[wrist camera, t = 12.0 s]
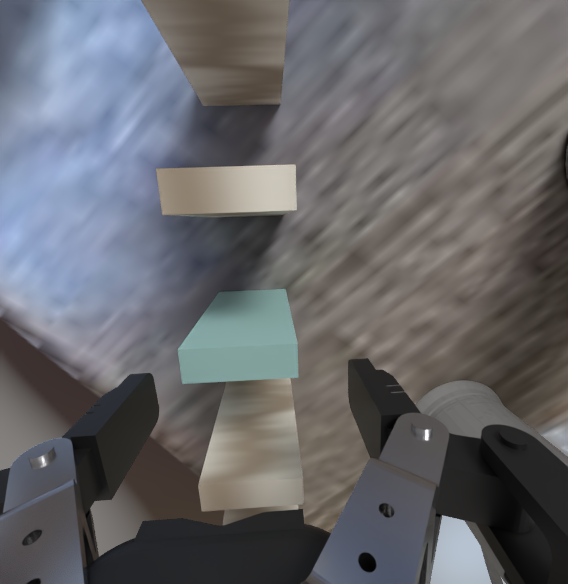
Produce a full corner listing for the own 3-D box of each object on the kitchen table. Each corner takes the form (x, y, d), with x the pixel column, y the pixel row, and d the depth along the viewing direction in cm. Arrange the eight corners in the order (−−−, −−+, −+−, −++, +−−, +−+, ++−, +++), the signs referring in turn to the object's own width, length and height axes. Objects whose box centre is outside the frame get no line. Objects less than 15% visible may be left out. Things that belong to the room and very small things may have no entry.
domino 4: (289, 371, 24) (303, 478, 14) (290, 389, 24) (303, 504, 14) (228, 375, 23) (198, 485, 14) (229, 392, 24) (201, 511, 14)
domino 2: (283, 191, 20) (295, 164, 10) (284, 214, 21) (296, 210, 11) (211, 193, 20) (156, 168, 10) (213, 217, 20) (162, 215, 11)
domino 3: (285, 288, 22) (297, 343, 12) (286, 309, 22) (298, 377, 13) (219, 291, 22) (177, 349, 12) (220, 311, 22) (182, 383, 12)
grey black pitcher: (511, 378, 25) (857, 604, 10) (486, 508, 28) (717, 818, 14) (411, 382, 24) (620, 623, 10) (398, 514, 28) (538, 837, 13)
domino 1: (279, 76, 18) (289, -83, 9) (280, 104, 19) (291, -18, 9) (200, 77, 18) (122, -83, 9) (203, 105, 19) (131, -17, 9)
